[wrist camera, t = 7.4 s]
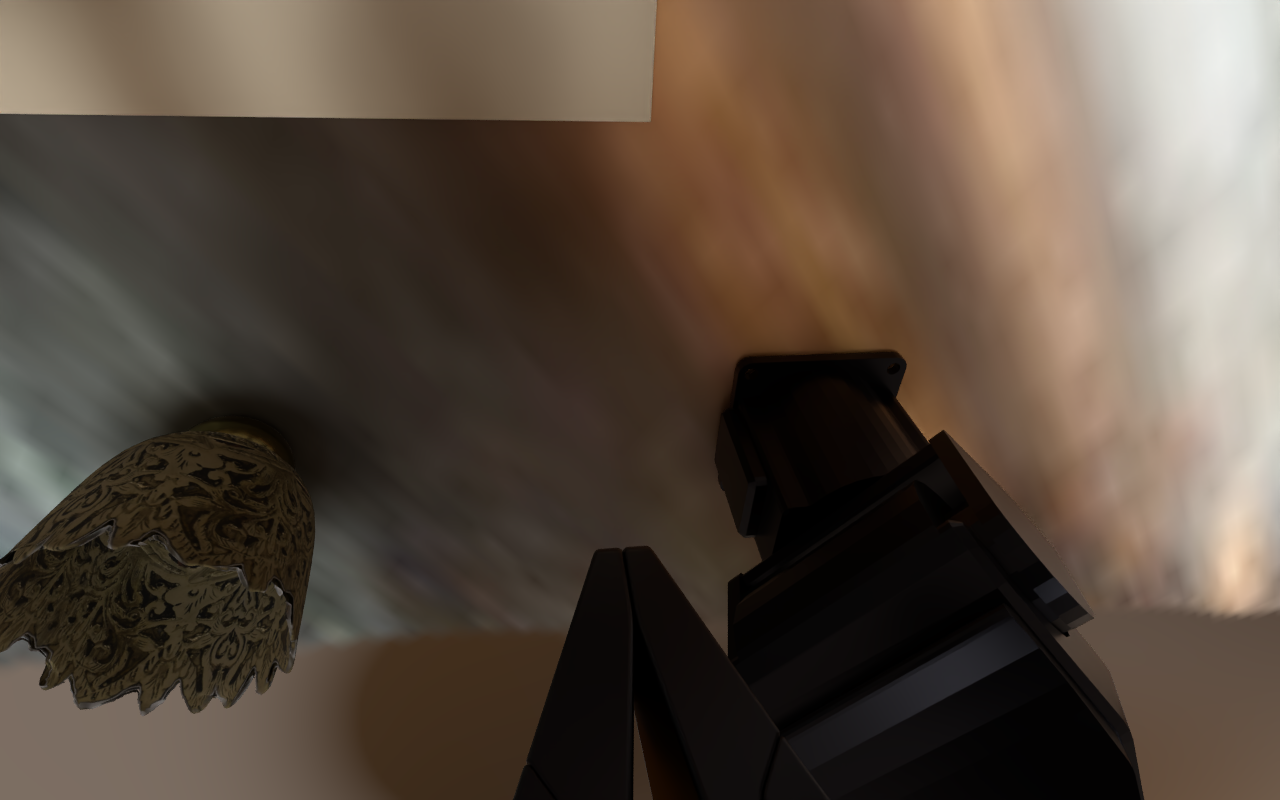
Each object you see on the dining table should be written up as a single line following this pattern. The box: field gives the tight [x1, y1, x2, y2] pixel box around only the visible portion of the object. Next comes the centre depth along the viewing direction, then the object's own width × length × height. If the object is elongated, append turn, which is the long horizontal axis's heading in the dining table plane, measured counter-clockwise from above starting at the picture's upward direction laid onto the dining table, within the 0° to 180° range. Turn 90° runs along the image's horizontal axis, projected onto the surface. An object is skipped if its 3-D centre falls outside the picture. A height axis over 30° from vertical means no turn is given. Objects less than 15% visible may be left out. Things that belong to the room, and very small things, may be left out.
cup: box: [0, 416, 315, 716], centre depth 20 cm, size 8×7×8 cm
